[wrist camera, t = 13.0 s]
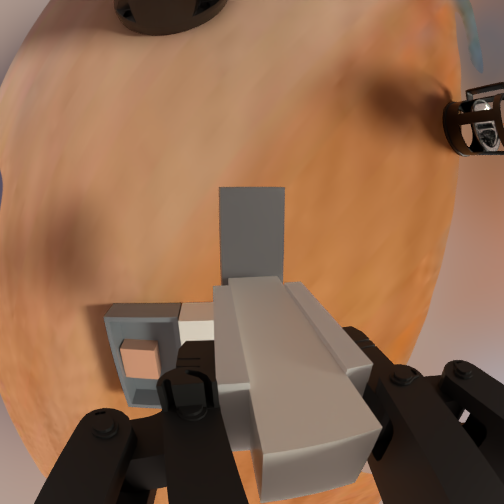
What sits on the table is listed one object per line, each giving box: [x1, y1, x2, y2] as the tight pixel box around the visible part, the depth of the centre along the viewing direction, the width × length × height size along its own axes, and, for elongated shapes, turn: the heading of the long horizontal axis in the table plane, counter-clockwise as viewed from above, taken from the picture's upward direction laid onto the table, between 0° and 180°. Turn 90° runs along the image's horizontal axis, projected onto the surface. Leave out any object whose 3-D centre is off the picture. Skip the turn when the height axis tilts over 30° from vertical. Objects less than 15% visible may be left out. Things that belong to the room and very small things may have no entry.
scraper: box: [219, 187, 382, 503], centre depth 11 cm, size 11×3×13 cm, turn 1°
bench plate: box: [178, 302, 214, 346], centre depth 33 cm, size 14×13×5 cm
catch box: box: [104, 303, 181, 409], centre depth 32 cm, size 14×9×4 cm, turn 1°
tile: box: [120, 339, 162, 379], centre depth 32 cm, size 4×4×2 cm
